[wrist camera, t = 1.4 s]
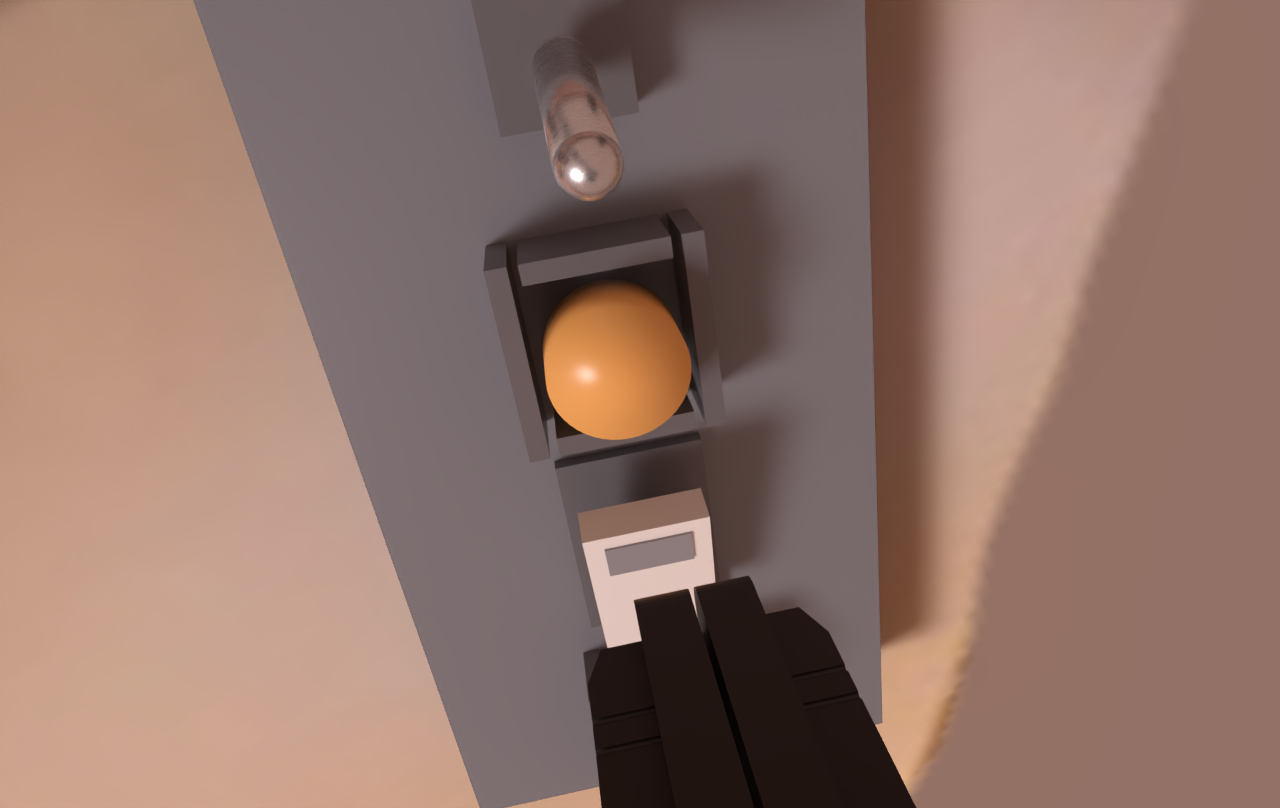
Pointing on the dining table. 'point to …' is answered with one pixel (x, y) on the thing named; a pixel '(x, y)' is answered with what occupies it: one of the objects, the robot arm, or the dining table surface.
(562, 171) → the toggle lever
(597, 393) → the orange button
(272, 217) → the control panel
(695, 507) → the rocker switch
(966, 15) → the dining table surface
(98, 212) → the dining table surface
